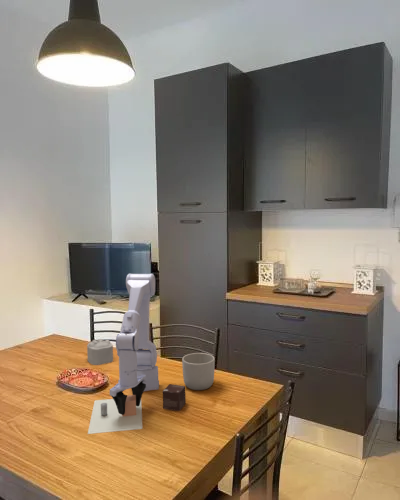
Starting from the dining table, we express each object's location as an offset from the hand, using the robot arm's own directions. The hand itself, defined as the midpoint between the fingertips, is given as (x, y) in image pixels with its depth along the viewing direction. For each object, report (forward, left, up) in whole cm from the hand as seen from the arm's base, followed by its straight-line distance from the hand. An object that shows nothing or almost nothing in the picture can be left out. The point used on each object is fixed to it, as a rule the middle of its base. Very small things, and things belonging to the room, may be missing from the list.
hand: (129, 409), depth 131 cm
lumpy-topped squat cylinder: (+14, -56, -2) cm, 58 cm away
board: (+4, 0, -2) cm, 5 cm away
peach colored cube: (0, 0, -1) cm, 1 cm away
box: (-15, -2, -2) cm, 15 cm away
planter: (-26, -19, -2) cm, 32 cm away
